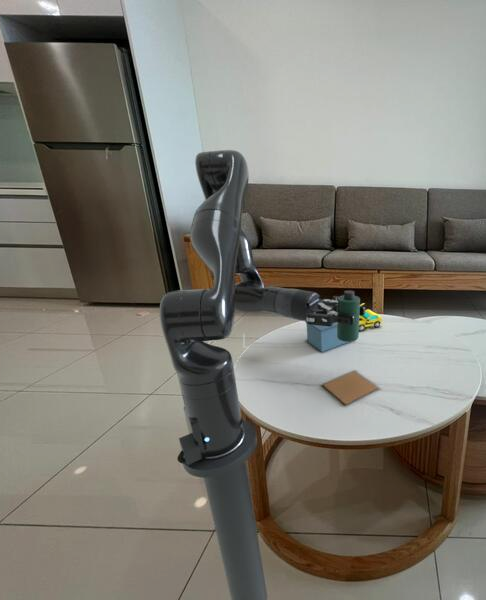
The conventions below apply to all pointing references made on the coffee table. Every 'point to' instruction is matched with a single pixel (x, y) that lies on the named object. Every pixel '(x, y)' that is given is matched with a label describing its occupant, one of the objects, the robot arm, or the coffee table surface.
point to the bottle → (351, 307)
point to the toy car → (369, 319)
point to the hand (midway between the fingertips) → (359, 315)
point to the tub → (323, 336)
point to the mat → (349, 387)
